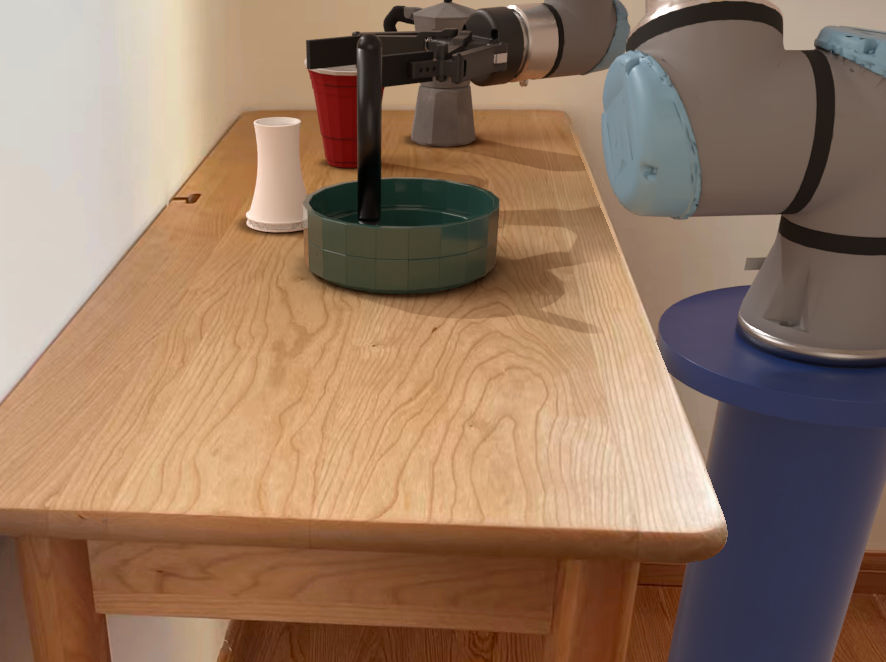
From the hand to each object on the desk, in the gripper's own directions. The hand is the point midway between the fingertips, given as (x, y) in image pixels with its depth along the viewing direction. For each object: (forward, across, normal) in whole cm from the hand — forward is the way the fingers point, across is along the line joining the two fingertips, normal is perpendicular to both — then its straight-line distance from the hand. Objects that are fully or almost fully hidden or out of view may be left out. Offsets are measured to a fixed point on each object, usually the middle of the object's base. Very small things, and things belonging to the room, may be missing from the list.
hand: (340, 63), depth 116 cm
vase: (+8, 0, -15) cm, 17 cm away
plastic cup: (-13, +20, -15) cm, 28 cm away
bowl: (+5, -20, -15) cm, 25 cm away
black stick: (+8, -18, -14) cm, 24 cm away
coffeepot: (-30, +25, -15) cm, 42 cm away
